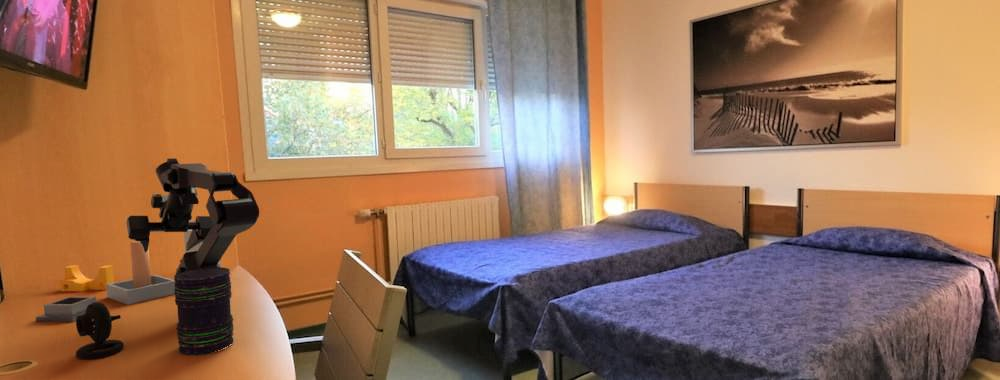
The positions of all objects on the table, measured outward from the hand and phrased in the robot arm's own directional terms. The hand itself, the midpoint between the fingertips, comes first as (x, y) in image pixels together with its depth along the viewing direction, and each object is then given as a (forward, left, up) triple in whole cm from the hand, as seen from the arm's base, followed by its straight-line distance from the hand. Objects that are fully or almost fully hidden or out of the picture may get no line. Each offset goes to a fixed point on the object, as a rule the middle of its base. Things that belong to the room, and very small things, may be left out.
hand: (166, 250), depth 135 cm
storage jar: (-39, +11, -14) cm, 43 cm away
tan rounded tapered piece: (+12, +1, -13) cm, 18 cm away
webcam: (-24, +24, -14) cm, 37 cm away
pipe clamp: (+32, +7, -14) cm, 36 cm away
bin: (+12, +1, -13) cm, 18 cm away
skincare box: (+19, -19, -14) cm, 30 cm away
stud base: (+8, +18, -13) cm, 24 cm away
